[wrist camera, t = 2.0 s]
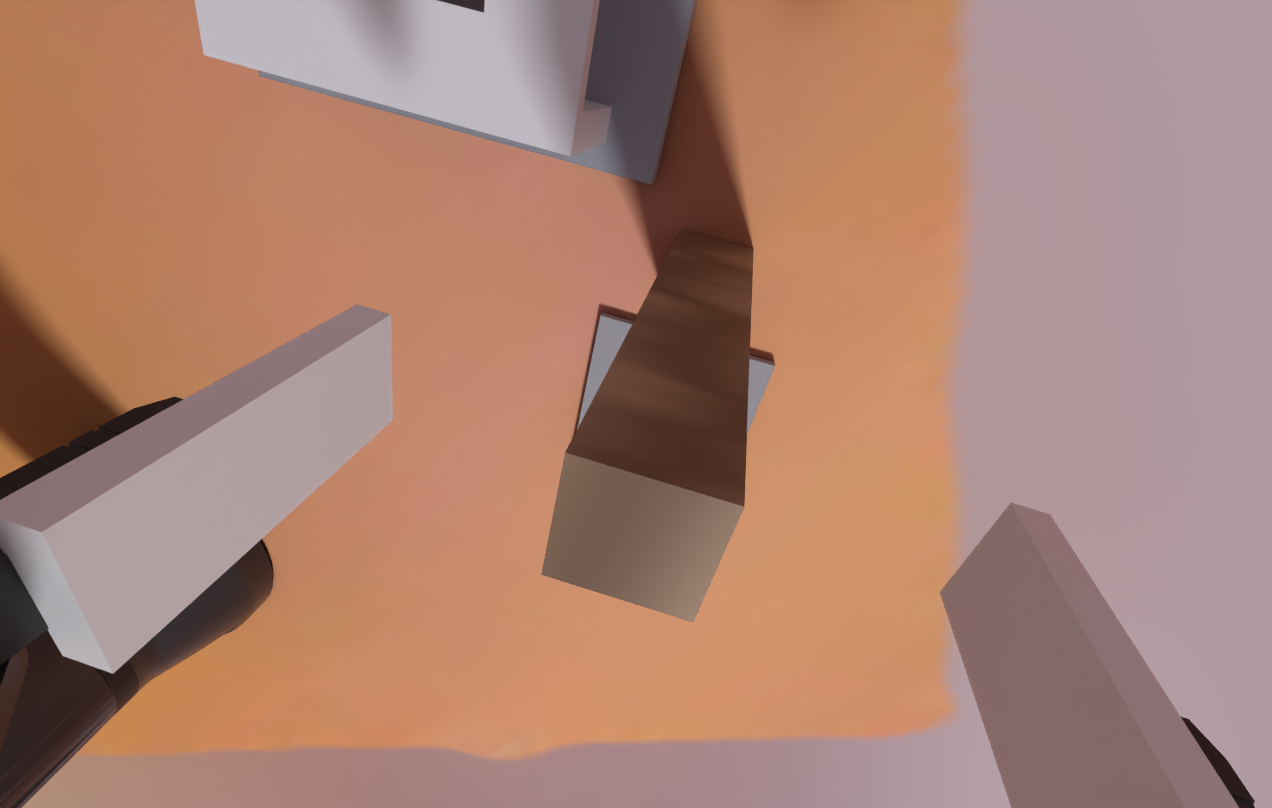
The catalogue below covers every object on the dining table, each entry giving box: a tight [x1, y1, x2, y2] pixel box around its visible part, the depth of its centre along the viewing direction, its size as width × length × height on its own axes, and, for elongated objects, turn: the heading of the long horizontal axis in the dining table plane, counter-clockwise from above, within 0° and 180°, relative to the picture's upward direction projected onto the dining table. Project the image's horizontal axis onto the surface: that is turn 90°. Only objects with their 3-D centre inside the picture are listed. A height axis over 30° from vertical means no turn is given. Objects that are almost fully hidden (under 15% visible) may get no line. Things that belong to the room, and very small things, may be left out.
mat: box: [577, 312, 775, 433], centre depth 27 cm, size 8×8×1 cm
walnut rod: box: [542, 229, 753, 622], centre depth 17 cm, size 3×3×16 cm
